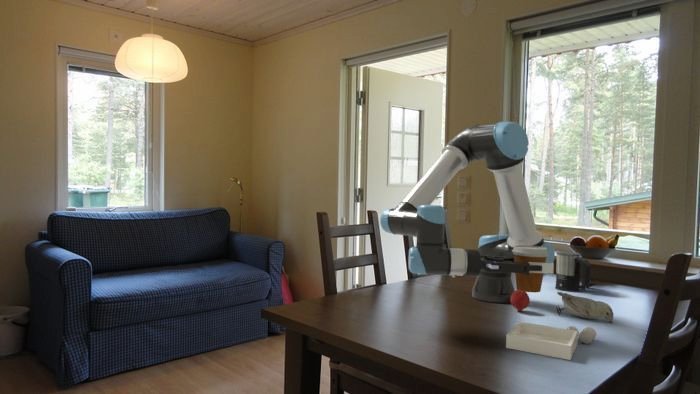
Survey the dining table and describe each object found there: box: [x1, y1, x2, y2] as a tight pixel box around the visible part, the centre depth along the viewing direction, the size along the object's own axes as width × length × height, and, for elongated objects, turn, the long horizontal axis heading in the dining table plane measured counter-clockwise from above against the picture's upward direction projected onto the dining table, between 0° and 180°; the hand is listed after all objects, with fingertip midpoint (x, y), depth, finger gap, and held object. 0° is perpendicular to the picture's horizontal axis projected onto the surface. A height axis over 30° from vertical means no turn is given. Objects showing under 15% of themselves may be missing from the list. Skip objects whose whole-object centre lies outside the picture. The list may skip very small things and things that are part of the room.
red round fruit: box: [510, 289, 531, 312], centre depth 157 cm, size 6×6×8 cm
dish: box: [505, 321, 579, 361], centre depth 121 cm, size 15×15×3 cm
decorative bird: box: [555, 291, 614, 324], centre depth 150 cm, size 5×16×8 cm, turn 56°
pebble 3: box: [582, 326, 597, 341], centre depth 128 cm, size 3×3×3 cm
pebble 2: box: [578, 330, 594, 344], centre depth 125 cm, size 3×3×3 cm
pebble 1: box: [566, 326, 580, 336], centre depth 128 cm, size 3×3×3 cm
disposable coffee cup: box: [512, 245, 549, 293], centre depth 134 cm, size 10×10×12 cm
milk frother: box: [554, 251, 598, 292], centre depth 197 cm, size 14×16×15 cm
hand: (546, 265), depth 134 cm, fingers closed on disposable coffee cup, 8 cm apart
